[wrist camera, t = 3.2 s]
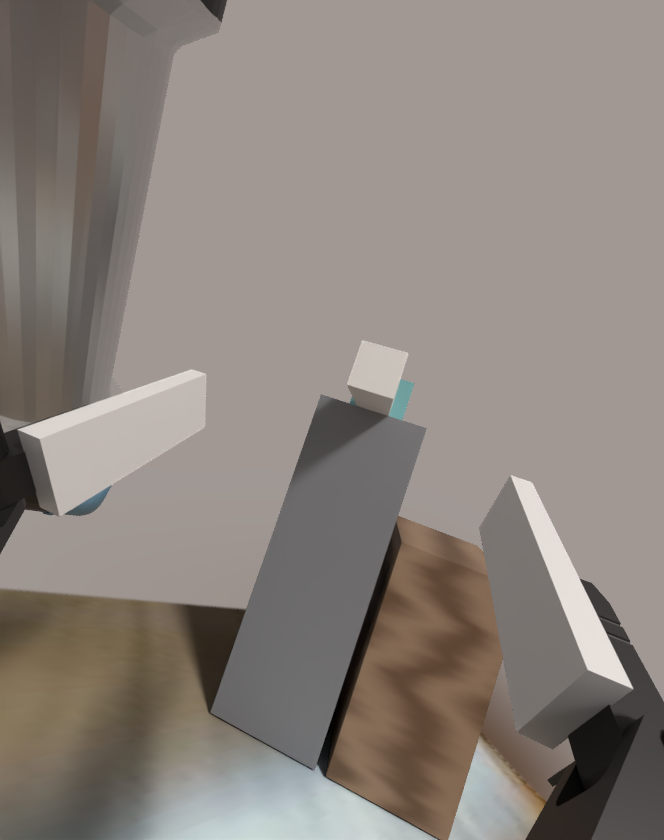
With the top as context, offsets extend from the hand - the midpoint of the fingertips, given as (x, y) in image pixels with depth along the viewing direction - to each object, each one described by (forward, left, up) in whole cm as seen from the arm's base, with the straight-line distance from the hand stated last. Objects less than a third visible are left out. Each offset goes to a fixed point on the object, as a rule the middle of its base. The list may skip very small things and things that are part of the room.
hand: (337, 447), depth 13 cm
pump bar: (0, +16, +4) cm, 16 cm away
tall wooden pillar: (+11, +21, -26) cm, 35 cm away
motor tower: (0, +21, -26) cm, 34 cm away
